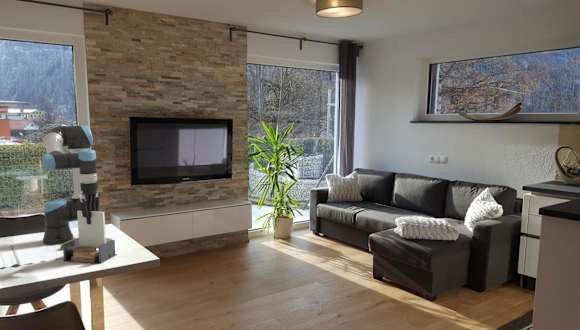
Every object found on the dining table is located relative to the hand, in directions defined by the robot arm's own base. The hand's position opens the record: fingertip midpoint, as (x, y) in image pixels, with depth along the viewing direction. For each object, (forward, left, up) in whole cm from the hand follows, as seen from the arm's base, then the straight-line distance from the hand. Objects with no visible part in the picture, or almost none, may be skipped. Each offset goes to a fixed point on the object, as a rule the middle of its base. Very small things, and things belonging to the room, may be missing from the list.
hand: (91, 229), depth 206 cm
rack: (+2, 0, -15) cm, 15 cm away
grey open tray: (-18, -18, -16) cm, 30 cm away
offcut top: (+5, 0, -9) cm, 11 cm away
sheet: (0, 0, -9) cm, 9 cm away
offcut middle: (+5, +1, -11) cm, 13 cm away
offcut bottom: (+5, 0, -13) cm, 14 cm away
